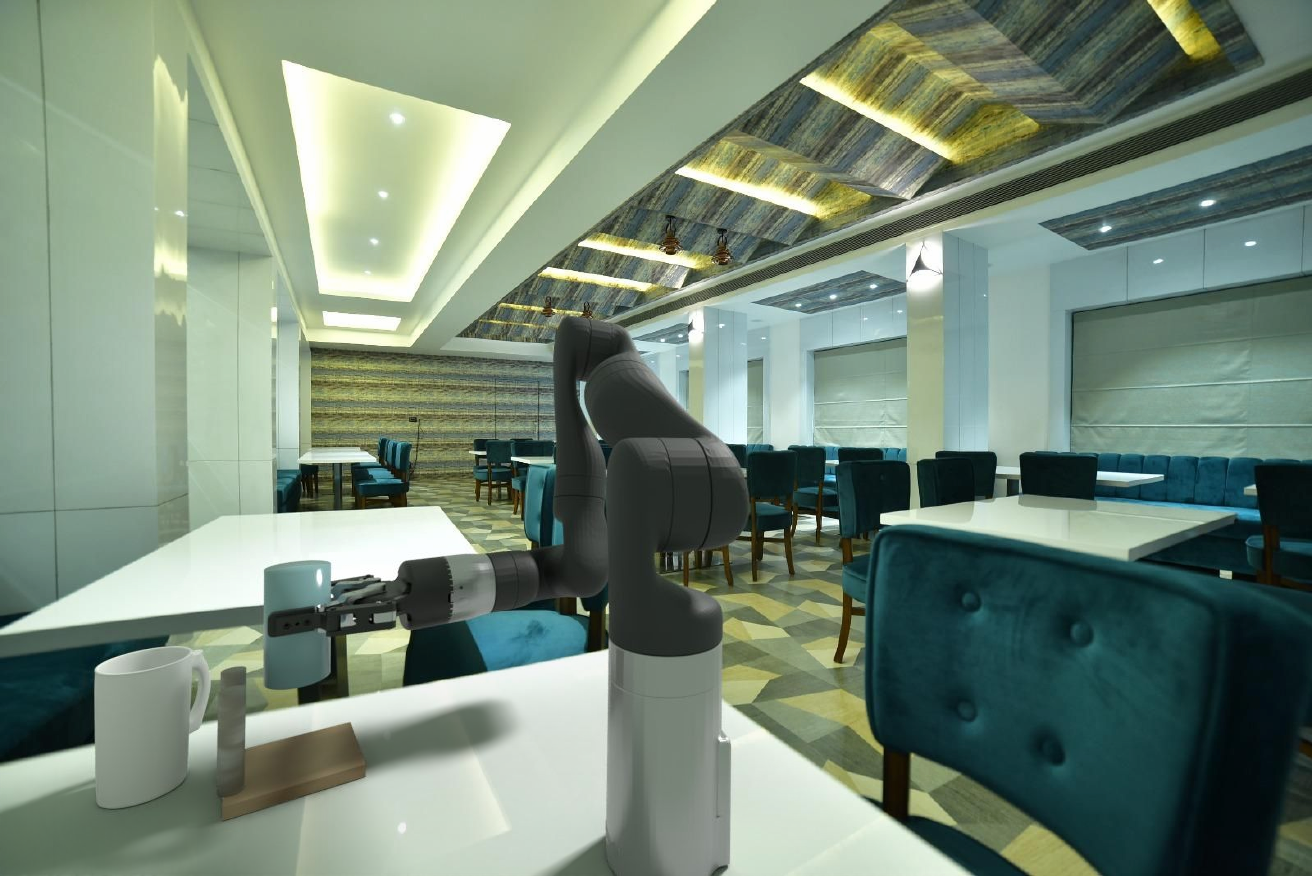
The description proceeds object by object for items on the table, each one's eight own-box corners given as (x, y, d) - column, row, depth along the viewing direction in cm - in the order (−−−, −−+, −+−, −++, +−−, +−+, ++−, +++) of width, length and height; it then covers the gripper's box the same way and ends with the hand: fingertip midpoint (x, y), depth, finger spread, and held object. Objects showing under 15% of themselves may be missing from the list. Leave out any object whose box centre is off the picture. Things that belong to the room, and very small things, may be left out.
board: (350, 732, 62) (351, 641, 62) (365, 776, 54) (367, 671, 54) (219, 767, 55) (221, 664, 55) (214, 823, 47) (216, 703, 47)
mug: (137, 815, 48) (140, 676, 48) (69, 808, 49) (72, 672, 49) (237, 751, 58) (239, 636, 58) (179, 746, 59) (181, 633, 59)
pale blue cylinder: (337, 662, 59) (337, 558, 58) (320, 686, 53) (321, 571, 53) (276, 668, 57) (276, 561, 57) (253, 693, 52) (253, 575, 52)
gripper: (430, 546, 69) (265, 563, 59) (466, 569, 58) (268, 595, 48) (429, 605, 69) (264, 633, 59) (466, 640, 58) (268, 682, 48)
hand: (267, 616), depth 54 cm, fingers closed on pale blue cylinder, 5 cm apart
